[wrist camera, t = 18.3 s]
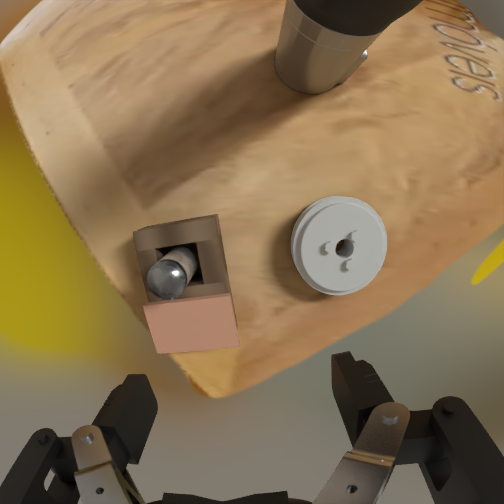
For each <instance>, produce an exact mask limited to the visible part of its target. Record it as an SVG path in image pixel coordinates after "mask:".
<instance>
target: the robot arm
mask: <svg viewBox="0 0 504 504" xmlns="http://www.w3.org/2000/svg"><path fill="white" fill-rule="evenodd" d="M421 1H423V0H287V1H286V6H285V11H284V16H283V20H282V25H281V30H280V35H279V40H278V45H277V49H276V54H275V68H276V71H277V73H278V75H279V77H280V78H281V80H282V81H283V82H284V83H285V84H287V85H288V86H289V87H290V88H292V89H294V90H296V91H299V92H302V93H307V94H319V93H323V92H326V91H328V90H330V89H331V88H332V87H333V86H335V85H336V84H339V83H344V82H345V81H346V80H347V79H348V78H349V77H350V76H351V75H352V74H353V73H354V71H355V70H356V69H357V68H358V67H359V66H360V65H361V64H362V63H363V62H364V61H365V60H366V59H367V57H368V55H367V51H366V50H367V48H368V47H369V46H370V45H371V44H372V43H373V42H374V41H375V39H376V38H377V37H378V36H379V35H380V34H381V33H382V32H383V31H384V30H385V29H386V28H387V27H388V26H389V25H390V24H391V23H392V22H394V21H395V20H397V19H398V18H400V17H402V16H403V15H405V14H406V13H408V12H409V11H411V10H412V9H413V8H415V7H416V6H417V5H418V4H419V3H420V2H421ZM331 358H332V359H331V364H332V365H331V366H332V390H333V395H334V398H335V400H336V403H337V406H338V408H339V411H340V414H341V416H342V419H343V422H344V425H345V428H346V430H347V433H348V436H349V438H350V441H351V444H352V447H353V449H352V450H351V452H346V453H345V455H344V456H343V458H342V459H341V461H340V463H339V464H338V466H337V467H336V469H335V470H334V472H333V474H332V475H331V477H330V478H329V480H328V481H327V483H326V484H325V486H324V487H323V489H322V490H321V491H320V493H319V494H318V496H317V497H316V499H315V500H314V501H313V503H312V502H309V501H305V500H300V499H292V498H288V494H287V491H282V492H273V493H263V494H254V495H250V496H246V497H242V498H237V499H233V500H228V501H216V500H212V499H208V498H203V497H199V496H195V495H187V494H174V493H164V494H163V499H162V500H159V501H154V502H150V503H147V504H378V502H379V500H380V498H381V496H382V494H383V492H384V490H385V487H386V485H387V483H388V481H389V479H390V476H391V474H392V472H393V469H394V467H395V465H402V464H413V463H418V464H419V467H420V469H421V471H422V473H423V476H424V478H425V481H426V483H427V485H428V488H429V490H430V493H431V495H432V498H433V500H434V503H435V504H504V456H503V455H502V453H501V452H500V450H499V449H498V447H497V446H496V444H495V443H494V442H493V440H492V439H491V437H490V436H489V434H488V433H487V431H486V430H485V429H484V427H483V426H482V424H481V423H480V421H479V420H478V419H477V417H476V416H475V415H474V413H473V412H472V411H471V409H470V408H469V406H468V405H467V404H466V403H465V402H464V401H463V400H462V399H460V398H458V397H453V396H448V397H444V398H441V399H439V400H438V401H436V402H435V404H434V405H433V408H432V409H431V410H421V411H409V410H408V408H407V407H406V406H404V405H403V404H400V403H396V402H394V400H393V398H392V397H391V395H390V394H389V392H388V390H387V389H386V387H385V385H384V384H383V382H382V381H381V380H380V377H379V376H378V374H377V373H376V371H375V369H374V368H373V366H372V365H371V364H369V363H367V362H366V361H364V360H360V361H355V360H354V358H353V356H352V355H351V353H350V351H347V352H343V353H338V354H333V355H332V357H331ZM157 410H158V405H157V400H156V398H155V395H154V393H153V390H152V388H151V385H150V383H149V380H148V378H147V376H146V375H145V374H129V375H128V376H127V377H126V379H125V381H124V382H123V384H122V385H119V386H117V387H116V388H115V389H114V390H113V391H111V393H110V395H109V396H108V399H107V400H106V401H105V403H104V406H102V408H101V409H100V411H99V413H98V415H97V416H96V418H95V419H94V421H93V423H92V425H85V426H82V427H80V428H78V429H77V430H76V431H75V432H74V433H73V434H72V437H58V436H57V435H56V433H55V432H54V431H53V430H52V429H49V428H43V429H40V430H38V431H36V432H35V433H34V434H33V435H32V436H31V438H30V439H29V441H28V443H27V444H26V445H25V447H24V449H23V450H22V452H21V453H20V455H19V456H18V458H17V460H16V461H15V463H14V464H13V466H12V468H11V469H10V471H9V473H8V474H7V476H6V478H5V480H4V481H3V483H2V485H1V486H0V504H77V503H78V501H79V498H80V496H81V499H82V503H83V504H146V503H145V501H144V500H143V498H142V496H141V494H140V493H139V491H138V489H137V487H136V485H135V483H134V481H133V480H132V478H131V476H130V474H129V472H128V470H127V469H126V466H127V464H128V463H130V464H138V463H139V460H140V458H141V455H142V452H143V449H144V447H145V444H146V441H147V438H148V436H149V433H150V430H151V428H152V425H153V422H154V420H155V417H156V414H157ZM50 469H51V470H52V471H53V473H54V474H55V476H54V478H53V480H52V482H51V484H50V486H49V488H48V490H47V491H46V490H45V488H44V480H45V478H46V476H47V474H48V472H49V471H50Z"/></svg>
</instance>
